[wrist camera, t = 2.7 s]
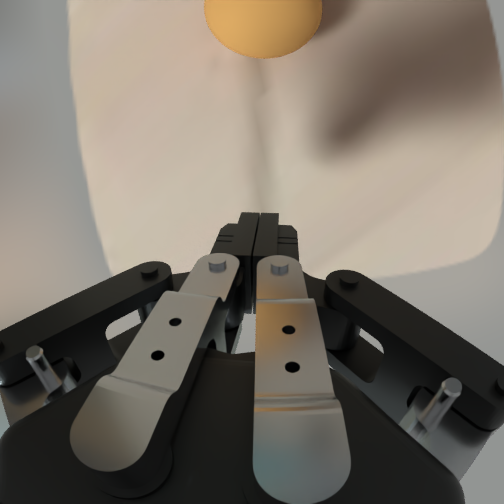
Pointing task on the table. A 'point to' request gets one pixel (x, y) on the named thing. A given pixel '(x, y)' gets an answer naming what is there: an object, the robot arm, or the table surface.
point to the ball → (263, 25)
